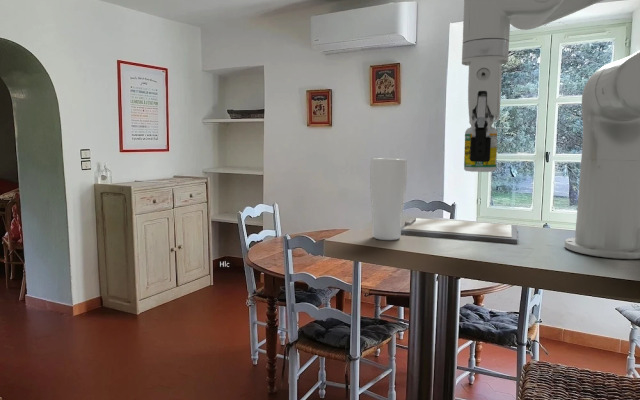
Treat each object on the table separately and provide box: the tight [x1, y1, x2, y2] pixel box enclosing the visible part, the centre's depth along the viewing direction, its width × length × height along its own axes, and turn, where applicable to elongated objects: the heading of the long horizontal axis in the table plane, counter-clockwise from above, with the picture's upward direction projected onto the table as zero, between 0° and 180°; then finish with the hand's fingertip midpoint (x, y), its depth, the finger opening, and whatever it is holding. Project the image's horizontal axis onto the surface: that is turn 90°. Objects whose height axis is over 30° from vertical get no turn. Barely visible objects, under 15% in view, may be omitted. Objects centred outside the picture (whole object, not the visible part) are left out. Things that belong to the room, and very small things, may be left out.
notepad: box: [401, 217, 518, 245], centre depth 98 cm, size 22×16×2 cm
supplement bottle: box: [463, 115, 498, 173], centre depth 84 cm, size 5×5×10 cm
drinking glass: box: [369, 157, 408, 241], centre depth 90 cm, size 7×7×15 cm
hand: (480, 159), depth 84 cm, fingers closed on supplement bottle, 5 cm apart
